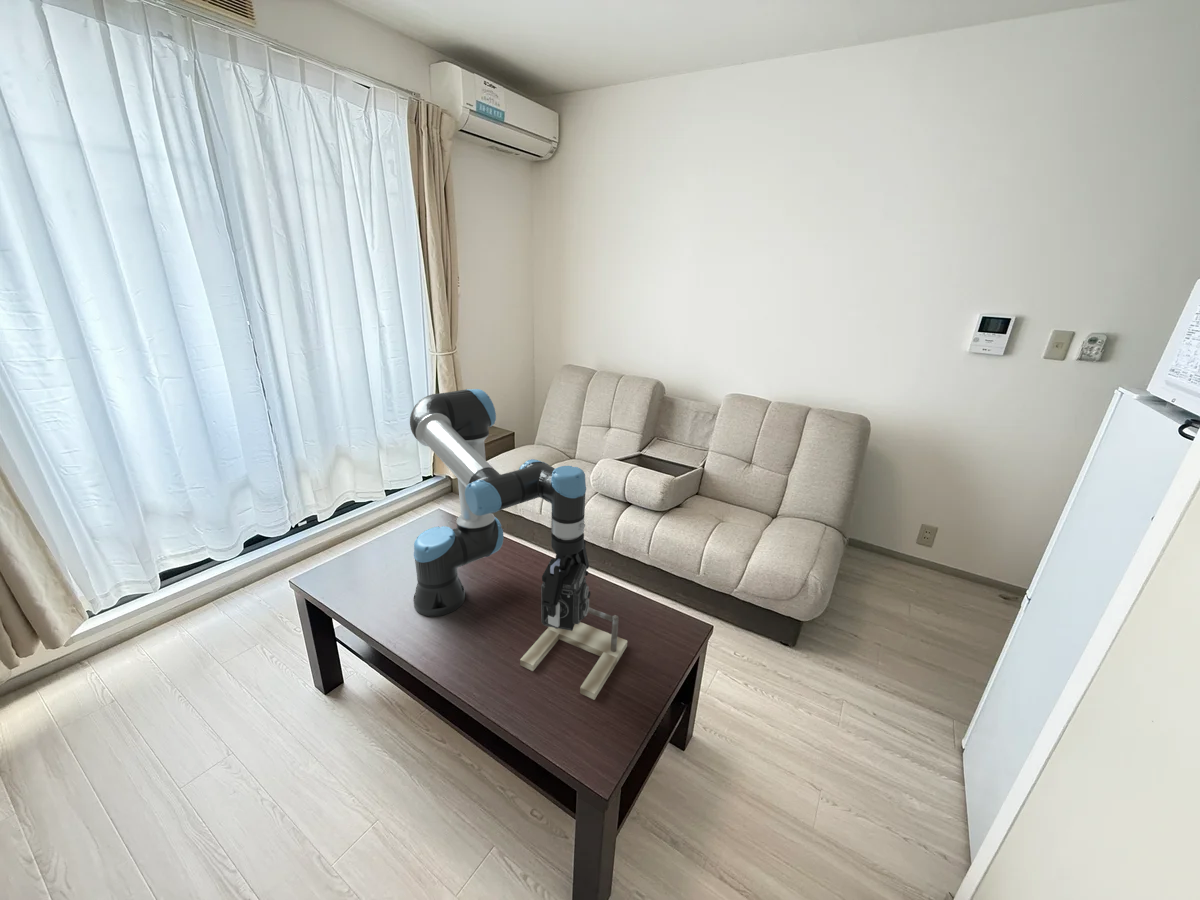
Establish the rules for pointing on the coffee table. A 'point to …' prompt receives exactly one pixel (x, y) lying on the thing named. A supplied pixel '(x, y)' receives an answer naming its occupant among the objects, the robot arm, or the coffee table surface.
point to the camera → (569, 598)
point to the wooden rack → (588, 640)
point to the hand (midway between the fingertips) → (566, 610)
